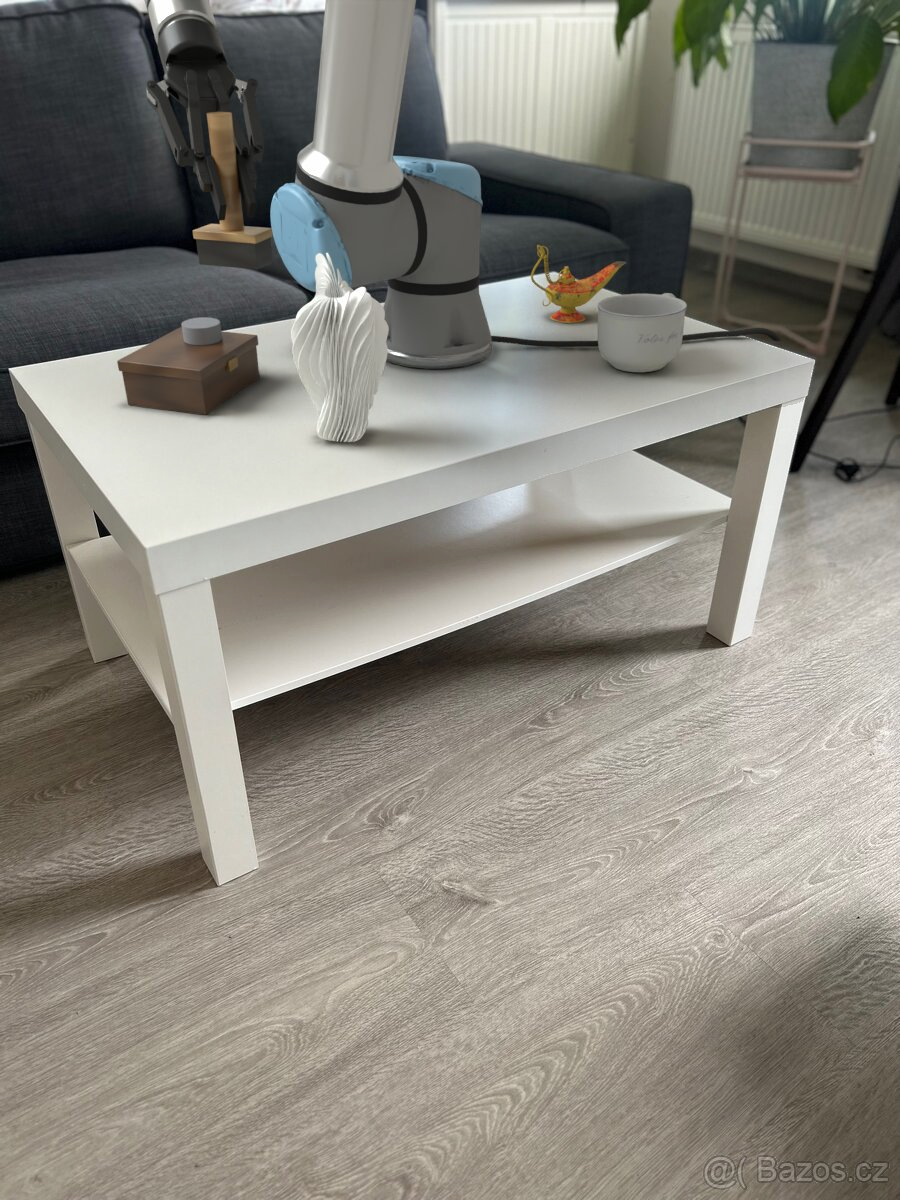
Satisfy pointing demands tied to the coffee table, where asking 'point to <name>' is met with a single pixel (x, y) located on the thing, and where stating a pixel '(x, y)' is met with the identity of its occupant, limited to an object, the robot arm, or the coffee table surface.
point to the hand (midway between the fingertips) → (237, 211)
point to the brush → (230, 210)
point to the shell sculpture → (340, 353)
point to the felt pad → (201, 331)
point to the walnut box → (189, 372)
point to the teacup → (640, 330)
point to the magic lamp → (572, 289)
